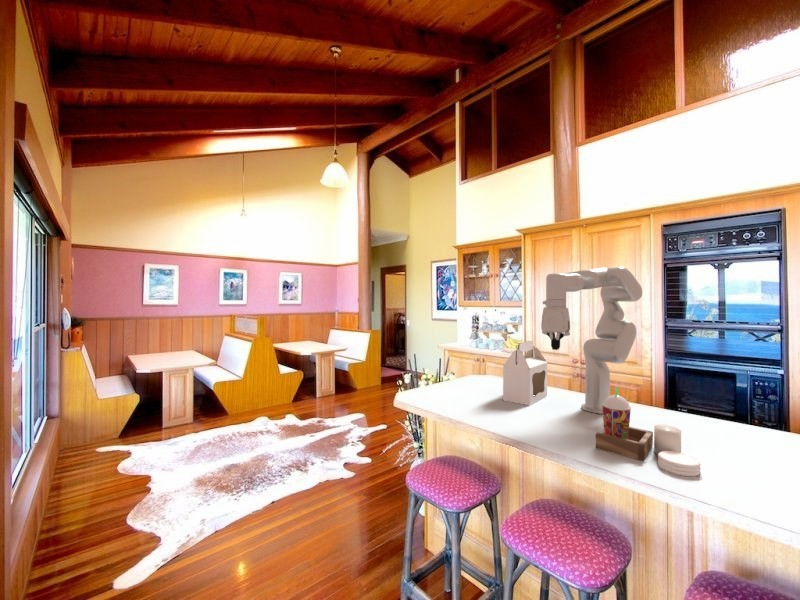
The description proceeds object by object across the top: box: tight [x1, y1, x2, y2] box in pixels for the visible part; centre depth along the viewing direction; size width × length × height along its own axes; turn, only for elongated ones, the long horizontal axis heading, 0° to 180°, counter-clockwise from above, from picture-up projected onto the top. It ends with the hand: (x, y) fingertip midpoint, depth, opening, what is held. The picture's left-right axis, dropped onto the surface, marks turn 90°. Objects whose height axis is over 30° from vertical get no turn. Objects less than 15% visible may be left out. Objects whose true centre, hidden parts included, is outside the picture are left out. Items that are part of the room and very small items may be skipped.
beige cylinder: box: [653, 424, 682, 455], centre depth 118 cm, size 7×7×8 cm
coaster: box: [657, 451, 701, 477], centre depth 108 cm, size 10×10×4 cm
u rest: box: [595, 426, 654, 462], centre depth 123 cm, size 15×14×5 cm
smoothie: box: [602, 386, 632, 439], centre depth 124 cm, size 8×8×20 cm
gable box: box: [502, 340, 548, 406], centre depth 181 cm, size 22×13×28 cm, turn 138°
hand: (555, 349), depth 148 cm, fingers closed
